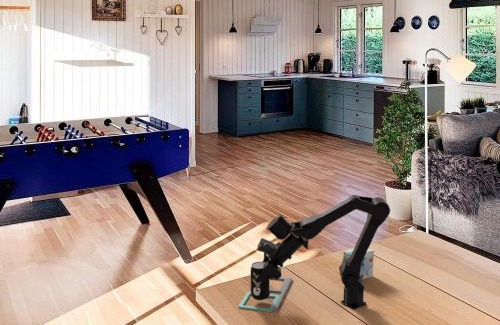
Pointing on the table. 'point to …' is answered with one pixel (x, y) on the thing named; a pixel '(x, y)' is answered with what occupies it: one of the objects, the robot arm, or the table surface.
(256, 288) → the beverage can
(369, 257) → the light bulb box
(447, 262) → the table surface
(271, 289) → the grey square frame
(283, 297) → the strip
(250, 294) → the teal square frame
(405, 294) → the table surface
